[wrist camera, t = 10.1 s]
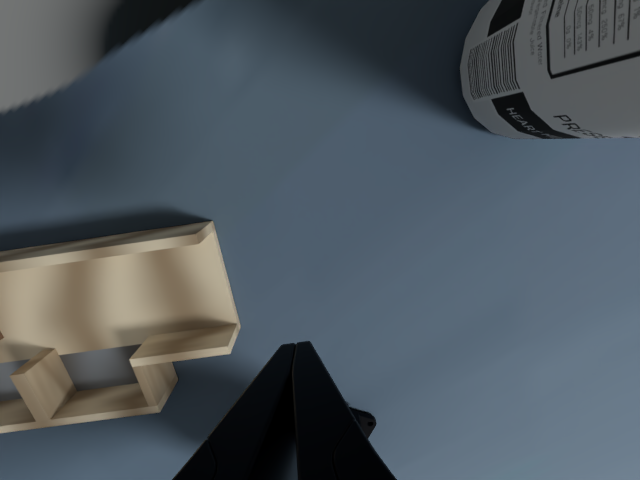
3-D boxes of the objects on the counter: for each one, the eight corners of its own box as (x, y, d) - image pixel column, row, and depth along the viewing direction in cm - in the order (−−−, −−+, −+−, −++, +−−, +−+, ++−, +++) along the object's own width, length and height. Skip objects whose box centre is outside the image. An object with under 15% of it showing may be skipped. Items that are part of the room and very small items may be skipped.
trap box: (212, 220, 20) (195, 234, 17) (252, 369, 23) (243, 401, 21) (-137, 271, 20) (-211, 292, 17) (-43, 409, 24) (-91, 445, 21)
